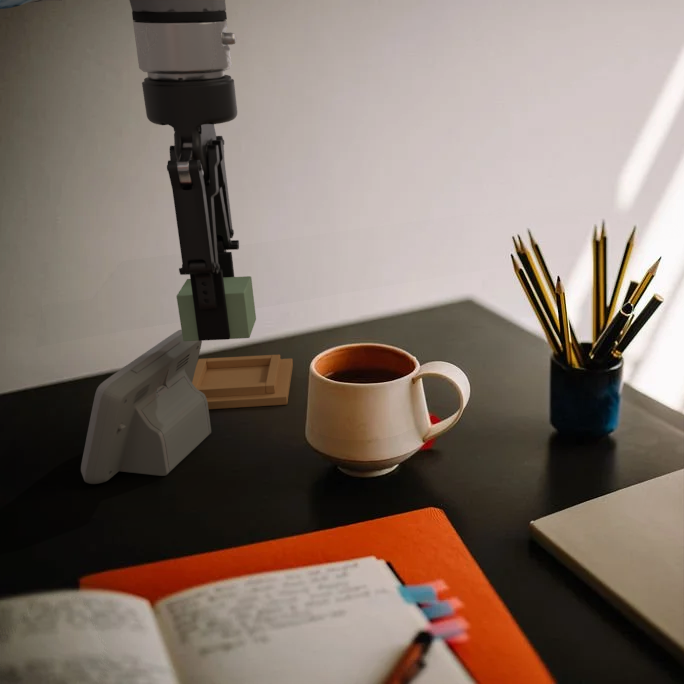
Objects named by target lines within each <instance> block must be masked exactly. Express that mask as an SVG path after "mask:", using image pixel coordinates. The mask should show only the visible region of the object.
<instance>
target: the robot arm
mask: <svg viewBox="0 0 684 684" xmlns="http://www.w3.org/2000/svg"><path fill="white" fill-rule="evenodd" d="M49 1H50V2H51V1H55V2H56V1H58V2H59V1H61V0H0V10H4V9H11V8H16V7H20V6H23V5H25V4H29V3H31V4H32V3H41V2H49ZM129 4H130V7H131V14H132V15H131V16H132V17H131V18H132V24H133V32H134V38H135V48H136V55H137V62H138V63H137V64H138V68H139V70H141V71H142V72H143V73H147V77H145V78H143V81H142V82H141V86H142V94H143V100H144V107H145V114H146V118H147V119H148V121H149V122H150V123H152V124H155V125H158V126H170V127H171V128H172V129H173V132H174V133H173V141H174V142H173V145H169V160H167V165H166V171H167V172H168V176H169V181H170V185H171V189H172V190H171V191H172V198H173V204H174V212H175V221H176V227H177V234H178V242H179V248H180V255H181V256H180V257H181V267H179V268H178V272H179V275H181V276H186V275H187V276H189V279H190V280H191V287H192V294H193V302H194V309H195V316H196V324H197V331H198V338H199V341H202V342H204V341H223V340H224V341H225V340H230V339H229V338H230V331H229V322H228V314H227V306H226V298H225V289H224V280H223V277H235V271H234V270H235V269H234V261H233V253H232V251H235V250H239V249H240V240H239V239H235V240H234V239H233V238H234V235H235V231H234V229H233V223H232V222H233V220H232V213H231V212H232V211H231V204H230V196H229V188H228V187H229V186H228V179H227V171H226V170H227V169H226V162H225V146H224V145H225V139H224V137H223V136H222V135H217V131H216V129H215V125H219V124H224V123H225V124H226V123H228V122H231V121H233V120H235V119H236V118H237V116H238V105H237V96H236V95H237V94H236V86H235V80H234V78H232V76H231V75H229V74H226V71H228V70H230V68H232V65H233V64H232V58H231V57H232V56H231V48H230V46H232V45H236V43H237V42H238V41H237V39H238V38H237V36H236V34H235V33H234V32H227V30H228V23H227V20H228V19H227V18H228V16H227V5H226V0H129ZM229 45H230V46H229ZM231 239H232V240H231ZM229 250H230V251H229Z"/></svg>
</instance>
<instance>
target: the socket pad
mask: <svg viewBox="0 0 684 684" xmlns="http://www.w3.org/2000/svg"><path fill="white" fill-rule="evenodd" d="M293 368H294V360H293V358H292V357H291V358H281V354H265V355H264V354H263V355H262V354H261V355H245V356H244V355H243V356H226V357H208V358H198V361H197V365H196V369H195V373H194V377H193V381H192V384H193V385H194V386H195V388H196V389H197V390H199V391H201V392H202V393H204V394H205V396H206V399H207V402H208V410H221V409H222V410H223V409H224V410H225V409H237V408H255V407H269V406H270V407H271V406H286V405H288V402H289V400H288V399H289V395H290V388H291V383H292V382H291V380H292V376H293V375H292V374H293Z"/></svg>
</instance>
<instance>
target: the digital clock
mask: <svg viewBox="0 0 684 684" xmlns="http://www.w3.org/2000/svg"><path fill="white" fill-rule="evenodd" d="M202 343H203V341H183V336H182V329H178V330H177V331H175V332H173V333H172V334H170V335H169V336H168V337H166V338H164V339H163V340H162V341H160V342H159V343H157V344H155V345H154V346H152V347H151V348H150V349H148V350H146V351H145V352H144V353H142V354H141V355H139V356H138V357H137V358H135V359H134V360H132V361H131V362H129V363H128V364H126V365H125V366H124V367H122V368H121V369H118V371H115V373H113V374H112V375H110V376H109V377H108V378H106V379H104V380H103V381H102V382H101V383H100V384H99V385H98V387H96V391H95V392H94V393H95V394H94V398H93V403H92V407H91V412H90V416H89V417H90V418H89V423H88V428H87V432H86V439H85V444H84V449H83V453H82V459H81V464H80V473H81V476H82V478H83V481H84V482H85V483H86V484H89V485H98V484H103V483H106V482H108V481H109V480H110V479H112V478H113V477H114V476H115V475H116V474H118V473H119V472H121V473H130V474H131V473H132V474H140V475H150V476H157V477H158V476H159V477H166V476H167V475H169V473H171V471H173V470H174V469H175V468H176V467H177V466H178V465H179V464H180V463H182V461H183V460H184V459H186V457H187V456H189V455H190V454H191V453H192V452H193V451H194V450H195V449H196V448H197V447H198V446H199V445H201V443H203V441H204V440H205V439H206V438H208V437H209V436H210V435H211V434H212V425H211V419H210V411H209V410H210V409H208V402H207V399H206V396H205V394H204V393H202V392H201V391H199V390H197V389H196V388H195V386H194V385H193V384H192V381H193V377H194V373H195V369H196V365H197V362H198V360H199V356H200V353H201V348H202Z"/></svg>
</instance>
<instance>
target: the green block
mask: <svg viewBox="0 0 684 684" xmlns="http://www.w3.org/2000/svg"><path fill="white" fill-rule="evenodd" d="M252 279H253V278H252V276H250V275H247V276H234V277H223V280H224V289H225V298H226V306H227V314H228V322H229V331H230V338H229V339H228V340H237V339H239V340H240V339H250V337H251V335H252V332H253V329H254V326H255V323H256V321H257V315H256V307H255V296H254V289H253V280H252ZM176 302H177V309H178V316H179V321H180V322H179V323H180V330H182V336H183V341H199V338H198V331H197V324H196V316H195V309H194V302H193V294H192V287H191V280H190V278H187V279H186V280H185V282H184V283H183V285H182V287H181V288H180V290H179V291H178V292H177V295H176Z"/></svg>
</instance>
